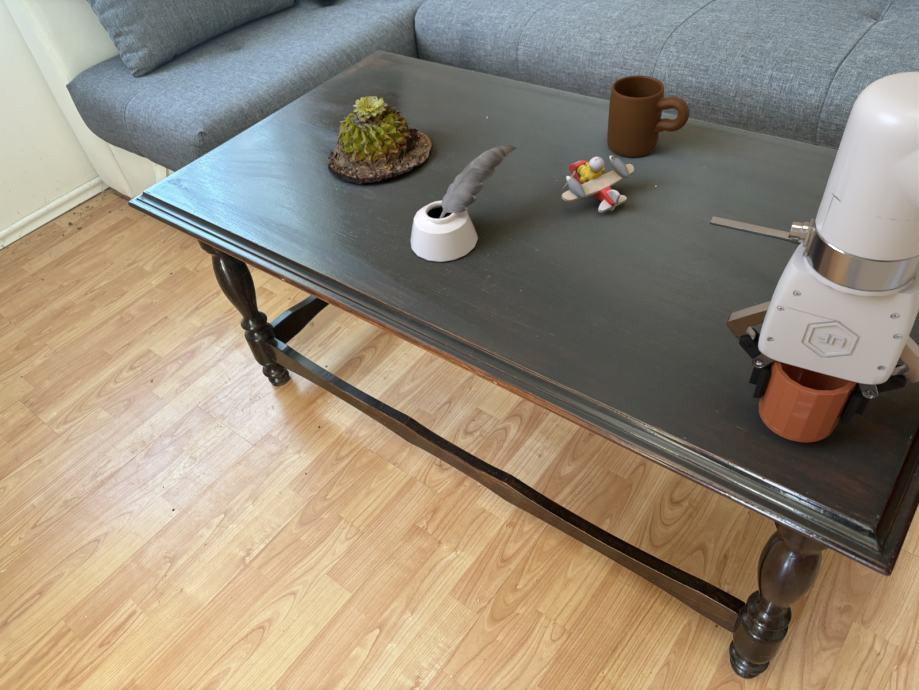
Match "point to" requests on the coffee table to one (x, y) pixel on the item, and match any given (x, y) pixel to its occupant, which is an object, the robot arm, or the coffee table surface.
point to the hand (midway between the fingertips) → (802, 399)
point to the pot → (803, 402)
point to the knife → (752, 228)
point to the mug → (640, 115)
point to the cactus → (376, 144)
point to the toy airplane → (597, 182)
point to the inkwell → (454, 212)
